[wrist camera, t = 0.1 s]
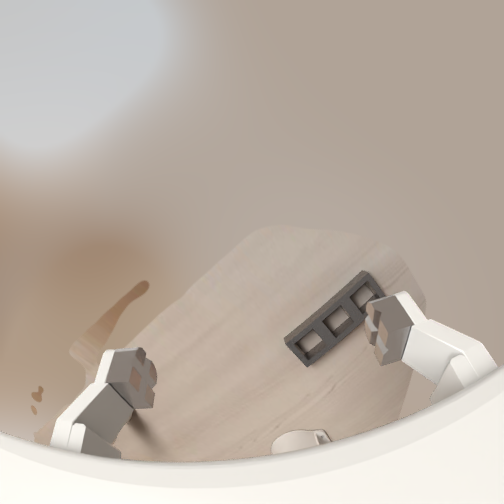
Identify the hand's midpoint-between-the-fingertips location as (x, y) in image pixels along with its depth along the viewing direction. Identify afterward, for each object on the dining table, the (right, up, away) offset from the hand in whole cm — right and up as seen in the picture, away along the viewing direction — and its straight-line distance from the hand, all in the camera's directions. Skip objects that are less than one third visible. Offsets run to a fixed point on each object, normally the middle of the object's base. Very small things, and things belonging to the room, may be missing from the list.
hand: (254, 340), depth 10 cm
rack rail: (+19, -12, +55) cm, 59 cm away
